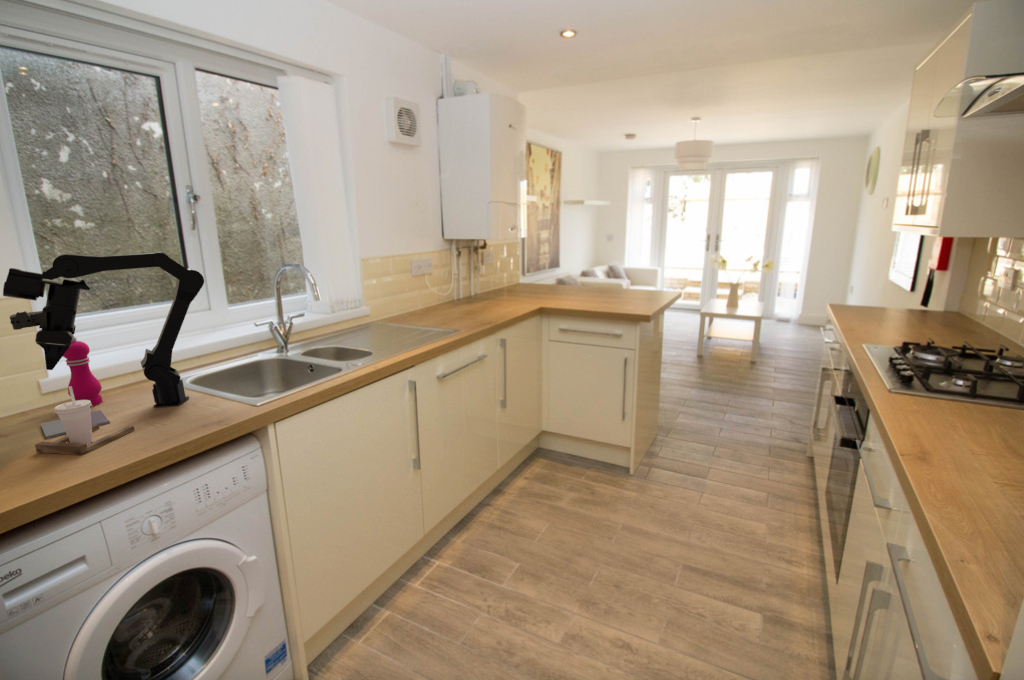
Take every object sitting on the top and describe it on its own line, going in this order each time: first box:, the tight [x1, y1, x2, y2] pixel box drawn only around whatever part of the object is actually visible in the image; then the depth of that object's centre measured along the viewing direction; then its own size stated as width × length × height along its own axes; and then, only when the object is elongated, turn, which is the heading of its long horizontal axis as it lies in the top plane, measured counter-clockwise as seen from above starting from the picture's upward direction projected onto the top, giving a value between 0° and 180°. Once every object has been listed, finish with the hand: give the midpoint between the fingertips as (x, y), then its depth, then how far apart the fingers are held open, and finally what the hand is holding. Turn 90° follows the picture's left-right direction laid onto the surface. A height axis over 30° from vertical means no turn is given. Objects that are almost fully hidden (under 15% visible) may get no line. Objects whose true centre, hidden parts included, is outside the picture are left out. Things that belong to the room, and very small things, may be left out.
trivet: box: [40, 409, 110, 440], centre depth 125 cm, size 12×12×1 cm
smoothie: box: [54, 386, 94, 444], centre depth 112 cm, size 6×6×14 cm
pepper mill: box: [62, 336, 103, 407], centre depth 137 cm, size 7×7×20 cm
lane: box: [34, 425, 135, 456], centre depth 115 cm, size 13×12×2 cm
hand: (51, 365), depth 122 cm, fingers open, 9 cm apart
